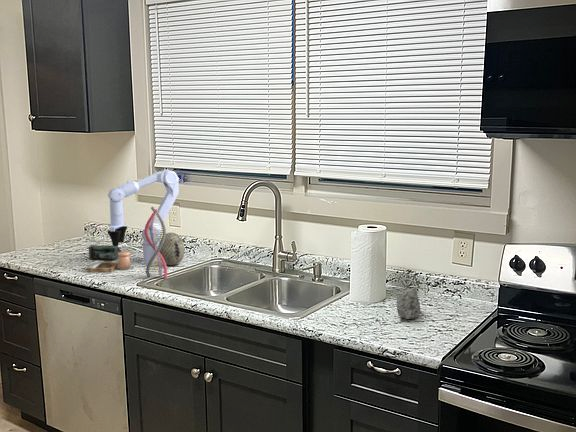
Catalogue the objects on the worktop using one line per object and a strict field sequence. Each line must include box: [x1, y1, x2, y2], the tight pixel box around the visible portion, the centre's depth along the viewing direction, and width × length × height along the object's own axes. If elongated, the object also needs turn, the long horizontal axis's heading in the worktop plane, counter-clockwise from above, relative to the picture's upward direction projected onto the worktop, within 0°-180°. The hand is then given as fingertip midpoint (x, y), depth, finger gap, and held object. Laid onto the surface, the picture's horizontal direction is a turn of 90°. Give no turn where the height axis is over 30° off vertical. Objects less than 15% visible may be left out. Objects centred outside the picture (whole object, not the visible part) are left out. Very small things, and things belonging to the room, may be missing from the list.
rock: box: [396, 287, 421, 320], centre depth 217 cm, size 15×8×10 cm, turn 142°
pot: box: [118, 251, 131, 271], centre depth 280 cm, size 5×5×7 cm
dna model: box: [143, 206, 168, 279], centre depth 264 cm, size 9×9×30 cm
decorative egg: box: [159, 232, 186, 266], centre depth 288 cm, size 12×12×15 cm
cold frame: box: [85, 260, 119, 274], centre depth 281 cm, size 11×13×2 cm
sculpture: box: [88, 244, 123, 261], centre depth 299 cm, size 12×8×15 cm
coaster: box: [118, 265, 135, 272], centre depth 281 cm, size 7×7×1 cm
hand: (118, 244), depth 287 cm, fingers open, 7 cm apart
